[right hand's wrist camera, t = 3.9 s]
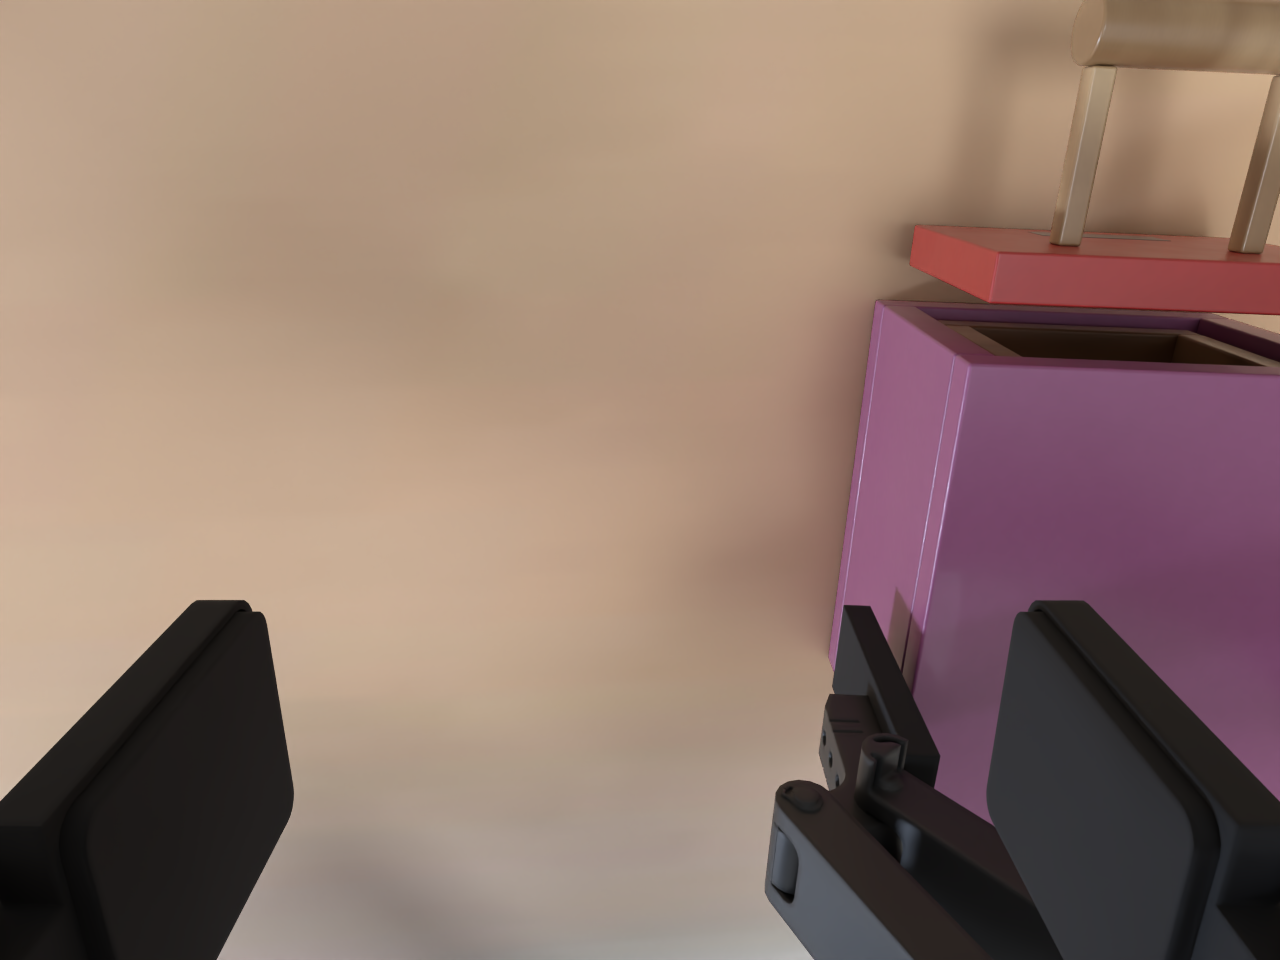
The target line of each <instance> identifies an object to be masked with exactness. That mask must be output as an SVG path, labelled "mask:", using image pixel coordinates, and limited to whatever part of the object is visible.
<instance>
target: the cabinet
mask: <svg viewBox="0 0 1280 960" xmlns="http://www.w3.org/2000/svg"><path fill="white" fill-rule="evenodd" d="M938 320H947V321H972V322H997V323H1021V324H1046V325H1071V326H1096V327H1121V328H1146V329H1171V330H1188V331H1191V332H1194V333H1197V334H1199V335H1203V336H1206V337H1209V338H1212V339H1215V340H1217V341H1220V342H1223V343H1226V344H1229V345H1232V346H1234V347H1237V348H1240V349H1243V350H1246V351H1249V352H1251V353H1254V354H1257V355H1260V356H1263V357H1266V358H1268V359H1271V360H1274V361H1277V362H1280V334H1277V333H1274V332H1271V331H1268V330H1264V329H1261V328H1258V327H1255V326H1251V325H1248V324H1245V323H1242V322H1238V321H1235V320H1232V319H1228V318H1225V317H1222V316H1218V315H1215V314H1212V313H1189V312H1165V311H1140V310H1116V309H1091V308H1066V307H1042V306H1017V305H992V304H968V303H943V302H919V301H894V300H877V301H876V303H875V310H874V318H873V325H872V333H871V340H870V348H869V355H868V363H867V371H866V378H865V386H864V393H863V401H862V408H861V416H860V423H859V431H858V438H857V446H856V453H855V461H854V469H853V476H852V484H851V491H850V499H849V506H848V514H847V521H846V529H845V536H844V544H843V551H842V559H841V566H840V574H839V582H838V589H837V597H836V604H835V612H834V619H833V627H832V634H831V642H830V649H829V660H830V663H831V666H832V668H833V671H834V670H835V663H836V656H837V649H838V642H839V635H840V627H841V620H842V613H843V606H844V605H862V606H871V608H872V610H873V613H874V615H875V617H876V619H877V621H878V623H879V625H880V628H881V630H882V632H883V634H884V636H885V638H886V640H887V643H888V645H889V647H890V649H891V651H892V653H893V655H894V658H895V660H896V662H897V664H898V666H899V668H900V670H901V672H902V675H903V677H904V679H905V681H906V683H907V685H908V687H909V690H910V692H911V694H912V696H913V698H914V700H915V702H916V705H917V707H918V709H919V711H920V713H921V715H922V717H923V720H924V722H925V724H926V726H927V728H928V730H929V732H930V735H931V737H932V739H933V741H934V743H935V745H936V747H937V749H938V752H939V754H940V761H939V766H938V772H937V777H936V782H935V787H934V789H936V790H937V791H939V792H941V793H942V794H944V795H945V796H947V797H949V798H950V799H952V800H953V801H955V802H957V803H958V804H960V805H961V806H963V807H965V808H966V809H968V810H969V811H971V812H973V813H974V814H976V815H977V816H979V817H981V818H982V819H984V820H985V821H987V822H989V823H990V824H992V825H993V826H994V824H993V822H992V820H991V818H990V815H989V811H988V807H987V800H986V789H987V782H988V776H989V769H990V763H991V757H992V751H993V745H994V739H995V733H996V727H997V720H998V714H999V708H1000V702H1001V696H1002V690H1003V684H1004V677H1005V671H1006V665H1007V659H1008V653H1009V647H1010V641H1011V635H1012V628H1013V623H1014V619H1015V617H1016V615H1017V614H1018V613H1019V612H1028V609H1029V607H1030V605H1031V603H1033V602H1034V601H1035V600H1084V601H1085V602H1086V603H1088V604H1089V605H1090V606H1091V607H1092V608H1093V609H1094V610H1095V611H1096V612H1097V613H1098V614H1099V615H1100V616H1101V617H1102V618H1103V619H1104V620H1105V621H1106V622H1107V623H1108V624H1109V626H1110V627H1111V628H1112V629H1113V630H1114V631H1115V632H1116V633H1117V634H1118V635H1119V636H1120V637H1121V638H1122V639H1123V640H1124V641H1125V642H1126V643H1127V644H1128V645H1129V646H1130V647H1131V648H1132V649H1133V650H1134V651H1135V652H1136V653H1137V654H1138V655H1139V657H1140V658H1141V659H1142V660H1143V661H1144V662H1145V663H1146V664H1147V665H1148V666H1149V667H1150V668H1151V669H1152V670H1153V671H1154V672H1155V673H1156V674H1157V675H1158V676H1159V677H1160V678H1161V679H1162V680H1163V681H1164V682H1165V683H1166V684H1167V685H1168V686H1169V688H1170V689H1171V690H1172V691H1173V692H1174V693H1175V694H1176V695H1177V696H1178V697H1179V698H1180V699H1181V700H1182V701H1183V702H1184V703H1185V704H1186V705H1187V706H1188V707H1189V708H1190V709H1191V710H1192V711H1193V712H1194V713H1195V714H1196V715H1197V716H1198V717H1199V718H1200V720H1201V721H1202V722H1203V723H1204V724H1205V725H1206V726H1207V727H1208V728H1209V729H1210V730H1211V731H1212V732H1213V733H1214V734H1215V735H1216V736H1217V737H1218V738H1219V739H1220V740H1221V741H1222V742H1223V743H1224V744H1225V745H1226V746H1227V747H1228V748H1229V749H1230V751H1231V752H1232V753H1233V754H1234V755H1235V756H1236V757H1237V758H1238V759H1239V760H1240V761H1241V762H1242V763H1243V764H1244V765H1245V766H1246V767H1247V768H1248V769H1249V770H1250V771H1251V772H1252V773H1253V774H1254V775H1255V776H1256V777H1257V778H1258V779H1259V780H1260V782H1261V783H1262V784H1263V785H1264V786H1265V787H1266V788H1267V789H1268V790H1269V791H1270V792H1271V793H1272V794H1273V795H1274V796H1275V797H1276V798H1277V799H1278V800H1279V801H1280V367H1263V366H1237V365H1212V364H1187V363H1161V362H1136V361H1110V360H1085V359H1060V358H1034V357H1009V356H994V355H993V354H991V353H989V352H988V351H986V350H985V349H983V348H981V347H980V346H978V345H976V344H975V343H973V342H971V341H970V340H968V339H967V338H965V337H963V336H962V335H960V334H958V333H957V332H955V331H954V330H952V329H950V328H949V327H947V326H945V325H944V324H942V323H940V322H939V321H938Z"/></svg>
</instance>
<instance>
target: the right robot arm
mask: <svg viewBox="0 0 1280 960" xmlns="http://www.w3.org/2000/svg"><path fill="white" fill-rule="evenodd" d="M293 800H294V789H293V782H292V776H291V769H290V763H289V757H288V751H287V745H286V739H285V733H284V726H283V720H282V714H281V708H280V702H279V696H278V690H277V684H276V677H275V671H274V665H273V659H272V653H271V647H270V641H269V635H268V628H267V623H266V619H265V617H264V615H263V614H262V613H261V612H252V609H251V607H250V605H249V603H247V602H246V601H245V600H196V601H195V602H194V603H192V604H191V605H190V606H189V607H188V608H187V609H186V610H185V611H184V612H183V613H182V614H181V615H180V616H179V617H178V618H177V619H176V620H175V621H174V622H173V623H172V624H171V626H170V627H169V628H168V629H167V630H166V631H165V632H164V633H163V634H162V635H161V636H160V637H159V638H158V639H157V640H156V641H155V642H154V643H153V644H152V645H151V646H150V647H149V648H148V649H147V650H146V651H145V652H144V653H143V654H142V655H141V657H140V658H139V659H138V660H137V661H136V662H135V663H134V664H133V665H132V666H131V667H130V668H129V669H128V670H127V671H126V672H125V673H124V674H123V675H122V676H121V677H120V678H119V679H118V680H117V681H116V682H115V683H114V684H113V685H112V686H111V688H110V689H109V690H108V691H107V692H106V693H105V694H104V695H103V696H102V697H101V698H100V699H99V700H98V701H97V702H96V703H95V704H94V705H93V706H92V707H91V708H90V709H89V710H88V711H87V712H86V713H85V714H84V715H83V716H82V717H81V718H80V720H79V721H78V722H77V723H76V724H75V725H74V726H73V727H72V728H71V729H70V730H69V731H68V732H67V733H66V734H65V735H64V736H63V737H62V738H61V739H60V740H59V741H58V742H57V743H56V744H55V745H54V746H53V747H52V748H51V749H50V751H49V752H48V753H47V754H46V755H45V756H44V757H43V758H42V759H41V760H40V761H39V762H38V763H37V764H36V765H35V766H34V767H33V768H32V769H31V770H30V771H29V772H28V773H27V774H26V775H25V776H24V777H23V778H22V779H21V780H20V782H19V783H18V784H17V785H16V786H15V787H14V788H13V789H12V790H11V791H10V792H9V793H8V794H7V795H6V796H5V797H4V798H3V799H2V800H1V801H0V960H217V958H218V956H219V954H220V952H221V950H222V948H223V946H224V944H225V942H226V940H227V938H228V936H229V934H230V932H231V931H232V929H233V927H234V925H235V923H236V921H237V919H238V917H239V915H240V913H241V911H242V909H243V907H244V905H245V903H246V902H247V900H248V898H249V896H250V894H251V892H252V890H253V888H254V886H255V884H256V882H257V880H258V878H259V876H260V874H261V873H262V871H263V869H264V867H265V865H266V863H267V861H268V859H269V857H270V855H271V853H272V851H273V849H274V847H275V845H276V844H277V842H278V840H279V838H280V836H281V834H282V832H283V830H284V828H285V826H286V824H287V822H288V820H289V818H290V815H291V811H292V807H293ZM986 800H987V807H988V811H989V815H990V818H991V820H992V822H993V824H994V826H995V828H996V830H997V832H998V834H999V836H1000V838H1001V840H1002V842H1003V844H1004V845H1005V847H1006V849H1007V851H1008V853H1009V855H1010V857H1011V859H1012V861H1013V863H1014V865H1015V867H1016V869H1017V871H1018V873H1019V874H1020V876H1021V878H1022V880H1023V882H1024V884H1025V886H1026V888H1027V890H1028V892H1029V894H1030V896H1031V898H1032V900H1033V902H1034V903H1035V905H1036V907H1037V909H1038V911H1039V913H1040V915H1041V917H1042V919H1043V921H1044V923H1045V925H1046V927H1047V929H1048V931H1049V932H1050V934H1051V936H1052V938H1053V940H1054V942H1055V944H1056V946H1057V948H1058V950H1059V952H1060V954H1061V956H1062V958H1063V960H1280V801H1279V800H1278V799H1277V798H1276V797H1275V796H1274V795H1273V794H1272V793H1271V792H1270V791H1269V790H1268V789H1267V788H1266V787H1265V786H1264V785H1263V784H1262V783H1261V782H1260V780H1259V779H1258V778H1257V777H1256V776H1255V775H1254V774H1253V773H1252V772H1251V771H1250V770H1249V769H1248V768H1247V767H1246V766H1245V765H1244V764H1243V763H1242V762H1241V761H1240V760H1239V759H1238V758H1237V757H1236V756H1235V755H1234V754H1233V753H1232V752H1231V751H1230V749H1229V748H1228V747H1227V746H1226V745H1225V744H1224V743H1223V742H1222V741H1221V740H1220V739H1219V738H1218V737H1217V736H1216V735H1215V734H1214V733H1213V732H1212V731H1211V730H1210V729H1209V728H1208V727H1207V726H1206V725H1205V724H1204V723H1203V722H1202V721H1201V720H1200V718H1199V717H1198V716H1197V715H1196V714H1195V713H1194V712H1193V711H1192V710H1191V709H1190V708H1189V707H1188V706H1187V705H1186V704H1185V703H1184V702H1183V701H1182V700H1181V699H1180V698H1179V697H1178V696H1177V695H1176V694H1175V693H1174V692H1173V691H1172V690H1171V689H1170V688H1169V686H1168V685H1167V684H1166V683H1165V682H1164V681H1163V680H1162V679H1161V678H1160V677H1159V676H1158V675H1157V674H1156V673H1155V672H1154V671H1153V670H1152V669H1151V668H1150V667H1149V666H1148V665H1147V664H1146V663H1145V662H1144V661H1143V660H1142V659H1141V658H1140V657H1139V655H1138V654H1137V653H1136V652H1135V651H1134V650H1133V649H1132V648H1131V647H1130V646H1129V645H1128V644H1127V643H1126V642H1125V641H1124V640H1123V639H1122V638H1121V637H1120V636H1119V635H1118V634H1117V633H1116V632H1115V631H1114V630H1113V629H1112V628H1111V627H1110V626H1109V624H1108V623H1107V622H1106V621H1105V620H1104V619H1103V618H1102V617H1101V616H1100V615H1099V614H1098V613H1097V612H1096V611H1095V610H1094V609H1093V608H1092V607H1091V606H1090V605H1089V604H1088V603H1086V602H1085V601H1084V600H1035V601H1034V602H1033V603H1031V605H1030V607H1029V609H1028V612H1019V613H1018V614H1017V615H1016V617H1015V619H1014V623H1013V628H1012V635H1011V641H1010V647H1009V653H1008V659H1007V665H1006V671H1005V677H1004V684H1003V690H1002V696H1001V702H1000V708H999V714H998V720H997V727H996V733H995V739H994V745H993V751H992V757H991V763H990V769H989V776H988V782H987V789H986Z"/></svg>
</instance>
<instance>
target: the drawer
mask: <svg viewBox="0 0 1280 960" xmlns="http://www.w3.org/2000/svg"><path fill="white" fill-rule="evenodd" d="M1071 54H1072V58H1073V60H1074V62H1075V63H1076V64H1077V65H1080V66H1088V67H1084V68H1083V70H1082V75H1081V80H1080V85H1079V90H1078V96H1077V101H1076V106H1075V111H1074V116H1073V121H1072V126H1071V131H1070V136H1069V142H1068V147H1067V152H1066V157H1065V162H1064V167H1063V172H1062V177H1061V183H1060V188H1059V193H1058V198H1057V203H1056V208H1055V213H1054V218H1053V223H1052V229H1051V231H1050V230H1026V229H1003V228H979V227H956V226H932V225H916V226H915V230H914V236H913V243H912V250H911V257H910V266H912V267H914V268H917V269H919V270H921V271H923V272H925V273H927V274H929V275H931V276H933V277H936V278H938V279H940V280H942V281H944V282H946V283H948V284H950V285H952V286H955V287H957V288H959V289H961V290H963V291H965V292H967V293H969V294H971V295H973V296H976V297H978V298H980V299H982V300H984V301H986V302H988V303H990V304H1014V305H1038V306H1063V307H1088V308H1112V309H1137V310H1162V311H1186V312H1211V313H1235V314H1260V315H1280V246H1275V245H1269V244H1265V243H1266V240H1267V236H1268V232H1269V229H1270V225H1271V222H1272V218H1273V214H1274V211H1275V207H1276V204H1277V200H1278V196H1279V193H1280V0H1084V1H1083V3H1082V5H1081V7H1080V9H1079V11H1078V14H1077V16H1076V19H1075V23H1074V26H1073V31H1072V37H1071ZM1116 67H1119V68H1140V69H1162V70H1184V71H1206V72H1227V73H1249V74H1271V75H1277V76H1274V77H1273V79H1272V82H1271V86H1270V89H1269V93H1268V97H1267V101H1266V105H1265V108H1264V112H1263V116H1262V120H1261V123H1260V127H1259V131H1258V135H1257V139H1256V142H1255V146H1254V150H1253V154H1252V158H1251V161H1250V165H1249V169H1248V173H1247V176H1246V180H1245V184H1244V188H1243V192H1242V195H1241V199H1240V203H1239V207H1238V211H1237V214H1236V218H1235V222H1234V226H1233V229H1232V233H1231V237H1230V238H1215V237H1192V236H1168V235H1144V234H1121V233H1097V232H1083V231H1084V226H1085V222H1086V217H1087V212H1088V207H1089V202H1090V197H1091V193H1092V188H1093V183H1094V178H1095V173H1096V169H1097V164H1098V159H1099V154H1100V149H1101V145H1102V140H1103V135H1104V130H1105V125H1106V121H1107V116H1108V111H1109V106H1110V101H1111V96H1112V92H1113V87H1114V82H1115V77H1116V72H1117V68H1116ZM938 321H939V322H940V323H942V324H944V325H945V326H947V327H949V328H950V329H952V330H954V331H955V332H957V333H958V334H960V335H962V336H963V337H965V338H967V339H968V340H970V341H971V342H973V343H975V344H976V345H978V346H980V347H981V348H983V349H985V350H986V351H988V352H989V353H991V354H993V355H994V356H1009V357H1034V358H1060V359H1085V360H1110V361H1136V362H1161V363H1187V364H1212V365H1237V366H1263V367H1280V362H1277V361H1274V360H1271V359H1268V358H1266V357H1263V356H1260V355H1257V354H1254V353H1251V352H1249V351H1246V350H1243V349H1240V348H1237V347H1234V346H1232V345H1229V344H1226V343H1223V342H1220V341H1217V340H1215V339H1212V338H1209V337H1206V336H1203V335H1199V334H1197V333H1194V332H1191V331H1188V330H1171V329H1146V328H1121V327H1096V326H1071V325H1046V324H1021V323H997V322H972V321H947V320H938Z"/></svg>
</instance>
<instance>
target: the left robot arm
mask: <svg viewBox="0 0 1280 960" xmlns="http://www.w3.org/2000/svg"><path fill="white" fill-rule="evenodd" d="M832 687H833V690H834V693H835V694H829V697H828V700H827V702H826V705H825V711H824V719H823V726H822V733H821V740H820V748H819V756H820V759H821V763H822V766H823V770H824V774H825V777H826V779H827V785H828V788H829V791H828V790H826V789H825V788H824V787H822V786H821V785H818V784H816V783H813V782H811V781H803V780H795V781H789V782H786V783H785V784H783V785H781V786H780V787H779V788H778V790H777V791H776V795H775V803H774V812H773V820H772V829H771V837H770V846H769V854H768V862H767V871H766V879H765V893H766V895H767V897H768V899H769V901H770V903H771V904H772V905H773V906H774V908H775V909H776V910H777V912H778V913H779V914H780V916H781V917H782V918H783V919H784V921H785V922H786V923H787V925H788V926H789V927H790V929H791V930H792V931H793V933H794V934H795V935H796V936H797V938H798V939H799V940H800V942H801V943H802V944H803V946H804V947H805V948H806V949H807V951H808V952H809V953H810V955H811V956H812V957H813V959H814V960H1063V958H1062V956H1061V954H1060V952H1059V950H1058V948H1057V946H1056V944H1055V942H1054V940H1053V938H1052V936H1051V934H1050V932H1049V931H1048V929H1047V927H1046V925H1045V923H1044V921H1043V919H1042V917H1041V915H1040V913H1039V911H1038V909H1037V907H1036V905H1035V903H1034V902H1033V900H1032V898H1031V896H1030V894H1029V892H1028V890H1027V888H1026V886H1025V884H1024V882H1023V880H1022V878H1021V876H1020V874H1019V873H1018V871H1017V869H1016V867H1015V865H1014V863H1013V861H1012V859H1011V857H1010V855H1009V853H1008V851H1007V849H1006V847H1005V845H1004V844H1003V842H1002V840H1001V838H1000V836H999V834H998V832H997V830H996V828H995V826H993V825H992V824H990V823H989V822H987V821H985V820H984V819H982V818H981V817H979V816H977V815H976V814H974V813H973V812H971V811H969V810H968V809H966V808H965V807H963V806H961V805H960V804H958V803H957V802H955V801H953V800H952V799H950V798H949V797H947V796H945V795H944V794H942V793H941V792H939V791H937V790H936V789H934V787H935V782H936V777H937V772H938V766H939V761H940V754H939V752H938V749H937V747H936V745H935V743H934V741H933V739H932V737H931V735H930V732H929V730H928V728H927V726H926V724H925V722H924V720H923V717H922V715H921V713H920V711H919V709H918V707H917V705H916V702H915V700H914V698H913V696H912V694H911V692H910V690H909V687H908V685H907V683H906V681H905V679H904V677H903V675H902V672H901V670H900V668H899V666H898V664H897V662H896V660H895V658H894V655H893V653H892V651H891V649H890V647H889V645H888V643H887V640H886V638H885V636H884V634H883V632H882V630H881V628H880V625H879V623H878V621H877V619H876V617H875V615H874V613H873V610H872V608H871V606H862V605H844V606H843V613H842V620H841V627H840V635H839V642H838V649H837V656H836V663H835V670H834V678H833V685H832Z"/></svg>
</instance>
